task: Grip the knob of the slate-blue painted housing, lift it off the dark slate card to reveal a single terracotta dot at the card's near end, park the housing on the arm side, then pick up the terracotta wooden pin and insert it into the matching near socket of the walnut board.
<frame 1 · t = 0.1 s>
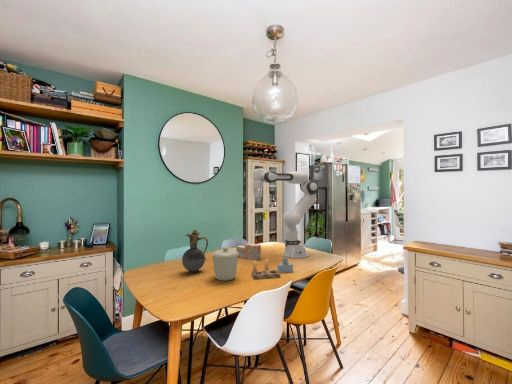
hand: (257, 202, 212), 48 cm above the table, fingers open, 8 cm apart
floral patterned box: (248, 258, 211), on the table
pitcher: (195, 272, 175), on the table
layout card: (285, 271, 175), on the table
housing: (285, 271, 175), on the table
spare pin: (254, 270, 177), on the table
canister: (225, 278, 162), on the table
pin: (266, 269, 180), on the table
socket board: (265, 276, 165), on the table
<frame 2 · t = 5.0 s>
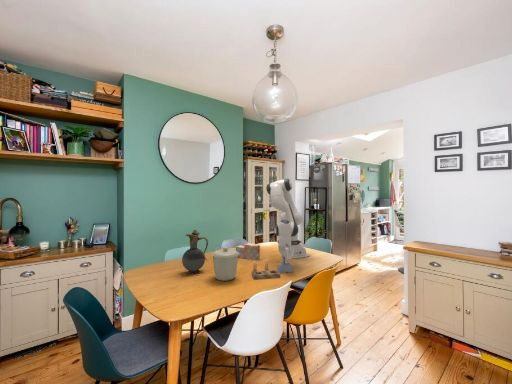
hand: (285, 262, 175), 7 cm above the table, fingers closed on housing, 3 cm apart
housing: (285, 271, 175), on the table, touching gripper
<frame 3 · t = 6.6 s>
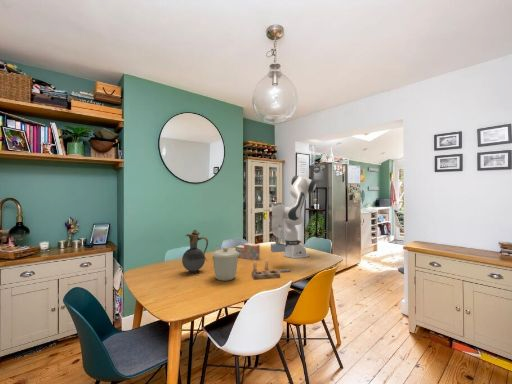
hand: (278, 242, 186), 19 cm above the table, fingers closed on housing, 3 cm apart
housing: (277, 251, 186), point 12 cm above the table, touching gripper
when the fingers open (8 cm above the table, at t = 8.6 s): housing drops 1 cm, on the table.
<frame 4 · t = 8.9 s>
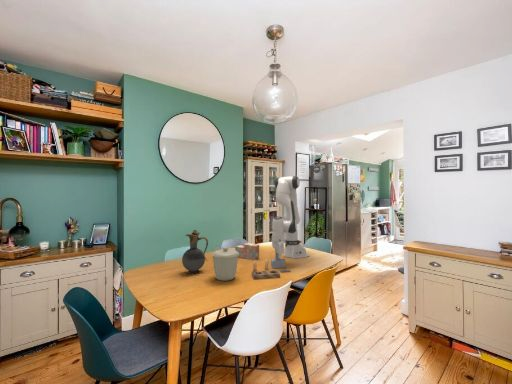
hand: (278, 256, 186), 8 cm above the table, fingers open, 6 cm apart
housing: (277, 266, 186), on the table
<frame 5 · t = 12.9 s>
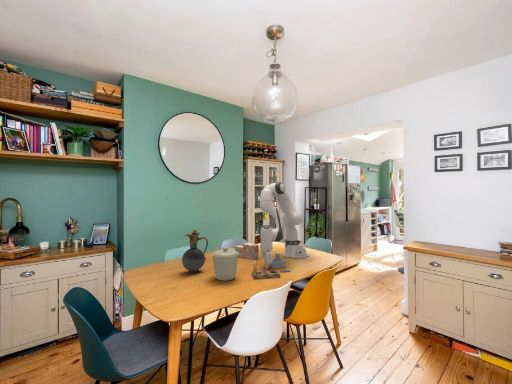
hand: (266, 266, 180), 2 cm above the table, fingers closed on pin, 3 cm apart
pin: (266, 269, 180), on the table, touching gripper
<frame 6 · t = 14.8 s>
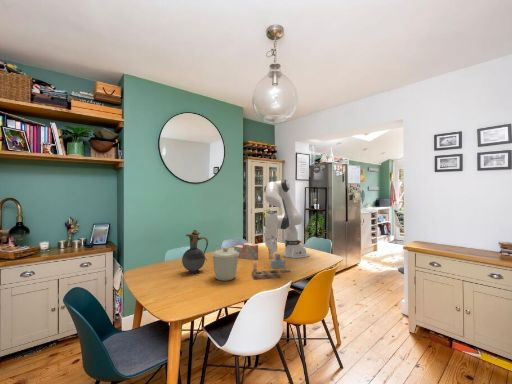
hand: (270, 255, 167), 14 cm above the table, fingers closed on pin, 3 cm apart
pin: (270, 258, 167), point 12 cm above the table, touching gripper
when the fingers open (4 cm above the table, at t = 16.9 s): pin drops 1 cm, resting in socket board.
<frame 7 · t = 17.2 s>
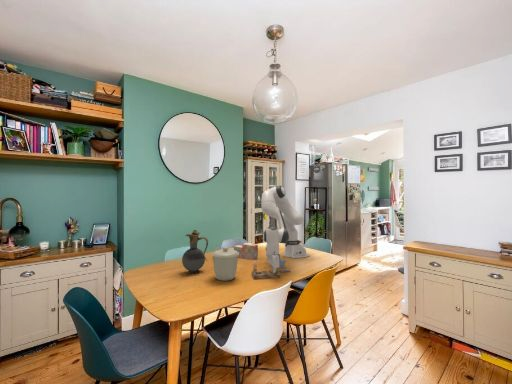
hand: (272, 270, 166), 4 cm above the table, fingers open, 6 cm apart
pin: (272, 275, 166), resting in socket board
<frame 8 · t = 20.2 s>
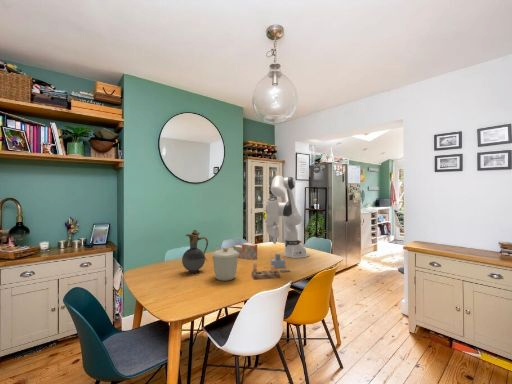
hand: (272, 242, 166), 23 cm above the table, fingers open, 8 cm apart
at the end: pin 0.1 cm from the target spot on the socket board, point 0.0 cm above the socket board's base; pin tilted 1°; housing moved 11.2 cm from its start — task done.
